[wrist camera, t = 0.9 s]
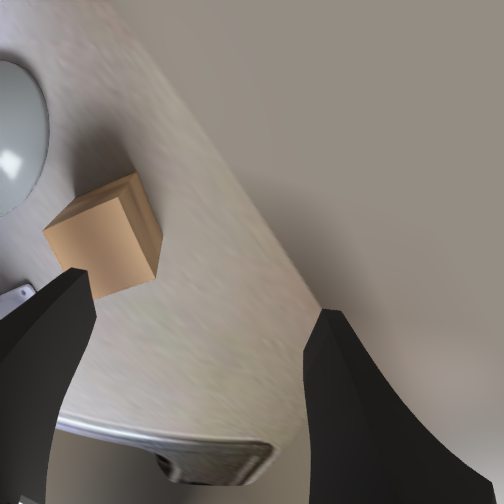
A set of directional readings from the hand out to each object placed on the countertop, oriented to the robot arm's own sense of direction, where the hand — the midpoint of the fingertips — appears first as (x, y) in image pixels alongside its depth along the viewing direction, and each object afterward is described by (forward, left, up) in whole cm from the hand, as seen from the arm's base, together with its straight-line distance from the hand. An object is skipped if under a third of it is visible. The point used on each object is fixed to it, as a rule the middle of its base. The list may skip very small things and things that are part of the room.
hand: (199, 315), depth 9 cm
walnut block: (-6, 0, -14) cm, 15 cm away
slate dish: (-14, +10, -14) cm, 22 cm away
